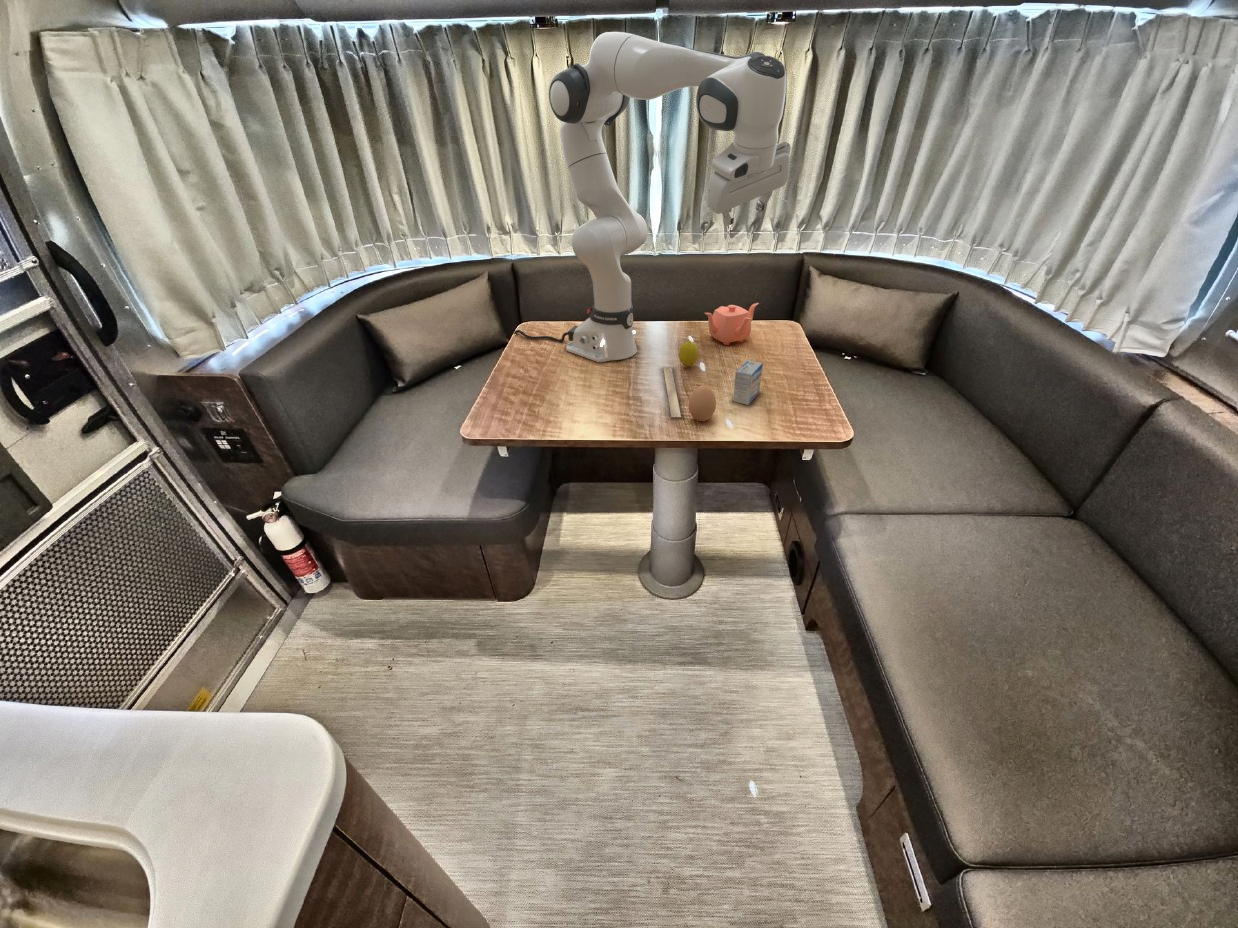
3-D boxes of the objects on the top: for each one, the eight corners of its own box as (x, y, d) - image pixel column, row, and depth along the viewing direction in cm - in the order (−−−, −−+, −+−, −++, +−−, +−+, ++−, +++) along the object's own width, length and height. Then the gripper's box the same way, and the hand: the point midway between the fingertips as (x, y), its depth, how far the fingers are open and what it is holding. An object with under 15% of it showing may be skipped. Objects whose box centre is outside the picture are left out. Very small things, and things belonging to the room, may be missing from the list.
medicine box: (748, 405, 136) (752, 375, 131) (732, 401, 138) (735, 371, 133) (759, 393, 142) (763, 363, 137) (743, 389, 144) (747, 359, 139)
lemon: (685, 372, 153) (686, 346, 148) (674, 365, 157) (675, 339, 152) (701, 368, 155) (703, 342, 150) (690, 361, 159) (692, 336, 154)
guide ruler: (671, 418, 132) (671, 417, 132) (663, 369, 155) (663, 368, 155) (681, 418, 132) (681, 417, 132) (671, 369, 155) (671, 368, 155)
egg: (699, 410, 135) (701, 377, 130) (720, 419, 131) (723, 386, 126) (681, 419, 131) (683, 386, 126) (702, 429, 127) (705, 395, 122)
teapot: (754, 333, 175) (759, 300, 169) (747, 350, 164) (751, 316, 158) (711, 328, 179) (714, 296, 173) (701, 344, 169) (703, 310, 162)
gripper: (781, 133, 115) (770, 196, 126) (705, 163, 109) (700, 226, 121) (802, 144, 111) (788, 207, 123) (724, 175, 106) (718, 239, 117)
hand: (744, 217), depth 122 cm, fingers open, 8 cm apart
